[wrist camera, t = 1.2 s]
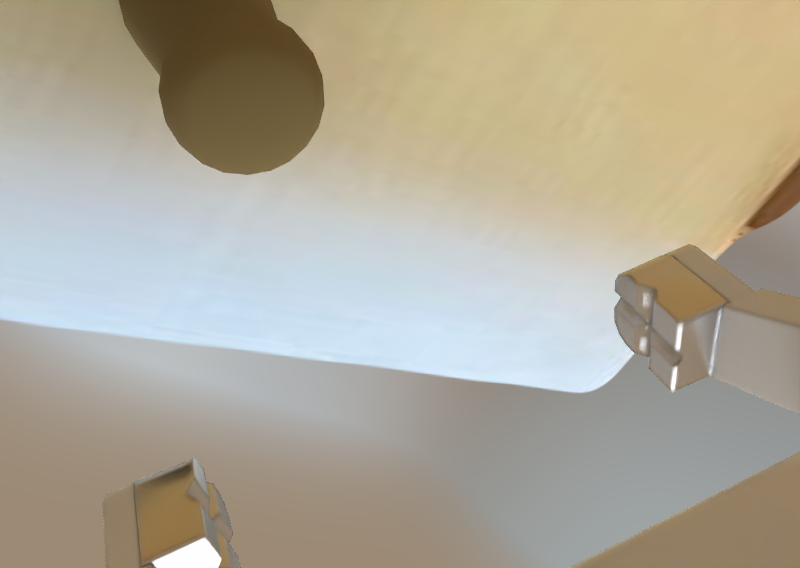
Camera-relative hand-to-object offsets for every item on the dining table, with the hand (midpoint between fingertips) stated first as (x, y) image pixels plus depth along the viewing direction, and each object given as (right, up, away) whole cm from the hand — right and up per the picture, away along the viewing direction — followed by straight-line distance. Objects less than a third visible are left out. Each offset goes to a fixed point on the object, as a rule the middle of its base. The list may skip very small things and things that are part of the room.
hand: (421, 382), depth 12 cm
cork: (-9, +14, +17) cm, 23 cm away
